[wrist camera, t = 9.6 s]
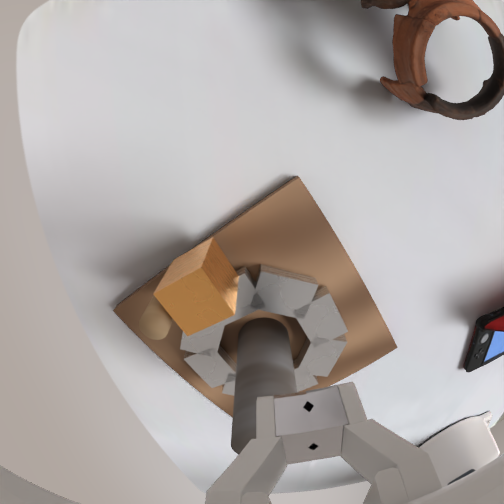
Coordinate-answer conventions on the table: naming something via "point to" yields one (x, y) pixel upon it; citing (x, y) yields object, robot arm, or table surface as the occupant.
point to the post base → (266, 323)
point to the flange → (246, 313)
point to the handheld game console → (486, 341)
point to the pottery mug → (413, 52)
